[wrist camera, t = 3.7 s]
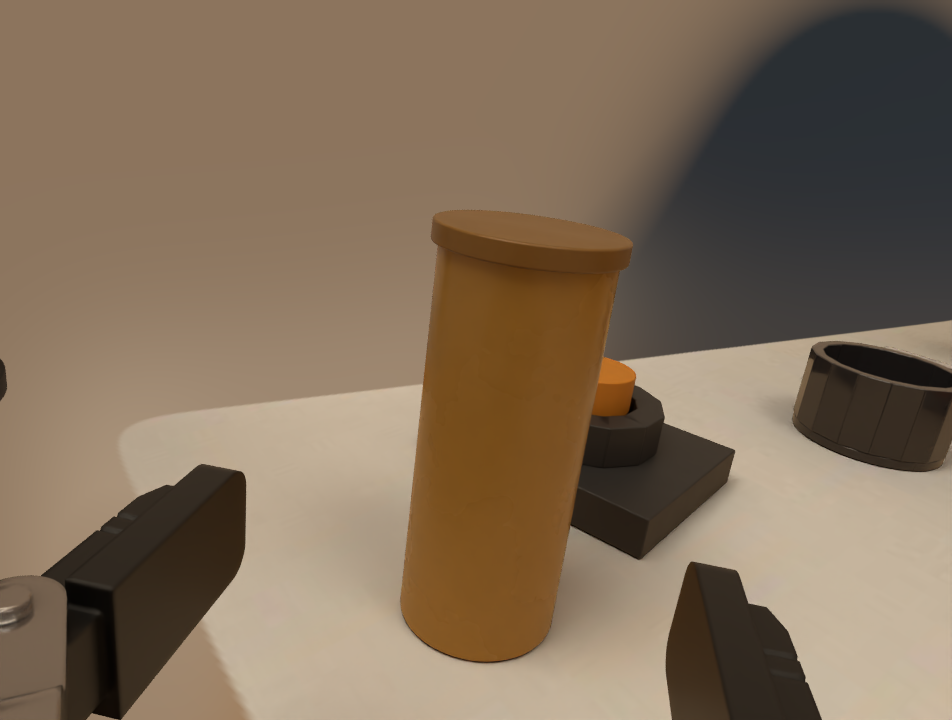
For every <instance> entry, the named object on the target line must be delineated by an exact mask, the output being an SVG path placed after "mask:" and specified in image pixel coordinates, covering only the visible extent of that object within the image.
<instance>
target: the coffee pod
mask: <svg viewBox="0 0 952 720" xmlns="http://www.w3.org/2000/svg"><path fill="white" fill-rule="evenodd" d="M431 239H432V241H433V242H434V243H435V244H437V245H438V248H437V258H436V267H435V278H434V287H433V296H432V306H431V315H430V324H429V334H428V343H427V353H426V363H425V372H424V382H423V391H422V400H421V410H420V419H419V429H418V438H417V448H416V457H415V466H414V476H413V485H412V495H411V504H410V514H409V523H408V533H407V542H406V552H405V561H404V571H403V580H402V590H401V600H400V603H401V610H402V613H403V616H404V618H405V620H406V622H407V624H408V626H409V627H410V628H411V630H412V631H413V632H414V633H415V634H416V635H417V636H418V637H419V638H420V639H421V640H423V641H424V642H425V643H427V644H428V645H430V646H431V647H433V648H435V649H437V650H439V651H441V652H443V653H445V654H448V655H451V656H454V657H457V658H461V659H466V660H471V661H482V662H491V661H502V660H508V659H512V658H516V657H518V656H521V655H523V654H525V653H527V652H529V651H531V650H532V649H534V648H535V647H536V646H538V645H539V644H540V643H541V642H542V640H543V639H544V638H545V637H546V635H547V634H548V632H549V629H550V627H551V622H552V617H553V612H554V606H555V601H556V596H557V591H558V586H559V581H560V576H561V570H562V565H563V560H564V555H565V550H566V545H567V540H568V534H569V529H570V524H571V519H572V514H573V509H574V504H575V498H576V493H577V488H578V483H579V478H580V473H581V468H582V462H583V457H584V452H585V447H586V442H587V437H588V432H589V426H590V421H591V416H592V411H593V406H594V401H595V396H596V390H597V385H598V380H599V375H600V370H601V365H602V360H603V354H604V349H605V344H606V339H607V334H608V329H609V324H610V318H611V313H612V308H613V303H614V298H615V293H616V288H617V282H618V277H619V272H620V271H621V270H624V269H626V268H627V267H628V266H629V263H630V258H631V253H632V248H633V244H632V242H631V241H630V240H629V239H627V238H626V237H624V236H622V235H620V234H617V233H614V232H611V231H608V230H605V229H602V228H598V227H594V226H590V225H586V224H581V223H576V222H571V221H566V220H560V219H555V218H549V217H542V216H535V215H527V214H520V213H511V212H499V211H483V210H452V211H445V212H440V213H437V214H435V215H434V217H433V222H432V231H431Z"/></svg>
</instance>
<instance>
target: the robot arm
mask: <svg viewBox="0 0 952 720" xmlns="http://www.w3.org/2000/svg"><path fill="white" fill-rule="evenodd" d="M245 529H246V479H245V475H244V474H243V473H242V472H241V471H236V470H231V469H226V468H221V467H216V466H211V465H205V464H201V465H198V466H197V467H196V468H195V469H193V470H192V471H191V472H190V473H189V474H187V475H186V476H185V477H184V478H183V479H182V480H180V481H179V482H178V483H177V484H176V485H175V486H170V485H165V486H162V487H160V488H158V489H155V490H153V491H151V492H148V493H146V494H144V495H141V496H139V497H137V498H136V499H135V500H134V501H132V502H131V503H130V504H129V505H128V506H126V507H125V508H124V509H123V510H121V511H120V512H119V513H118V516H117V517H113V518H111V519H110V520H109V521H108V522H107V523H105V524H104V525H103V526H102V527H101V530H100V531H96V532H94V533H93V534H92V535H91V536H89V537H88V538H87V539H86V540H84V541H83V542H82V543H81V544H79V545H78V546H77V547H76V548H74V549H73V550H72V551H71V552H69V553H68V554H67V555H66V556H65V557H63V558H62V559H61V560H60V561H59V562H57V563H56V564H55V565H53V567H51V568H50V569H48V570H47V571H46V572H45V573H44V574H42V575H41V576H32V575H31V576H17V577H11V578H6V579H2V580H0V720H86V719H87V718H88V717H89V716H90V714H91V713H93V714H98V715H102V716H106V717H110V718H114V719H118V720H121V719H122V718H123V716H124V715H125V714H126V713H127V711H128V710H129V709H130V708H131V706H132V705H133V704H134V702H135V701H136V700H137V699H138V698H139V696H140V695H141V694H142V693H143V691H144V690H145V689H146V688H147V686H148V685H149V684H150V683H151V681H152V680H153V679H154V677H155V676H156V675H157V674H158V673H159V671H160V670H161V669H162V668H163V666H164V665H165V664H166V663H167V661H168V660H169V659H170V658H171V656H172V655H173V654H174V653H175V651H176V650H177V649H178V648H179V646H180V645H181V644H182V643H183V641H184V640H185V639H186V638H187V636H188V635H189V634H190V633H191V631H192V630H193V629H194V627H195V626H196V625H197V624H198V623H199V621H200V620H201V619H202V618H203V616H204V615H205V614H206V613H207V611H208V610H209V609H210V608H211V606H212V605H213V604H214V603H215V601H216V600H217V599H218V598H219V596H220V595H221V594H222V593H223V591H224V590H225V589H226V588H227V586H228V585H229V584H230V583H231V581H232V580H233V579H234V577H235V576H236V574H237V572H238V570H239V567H240V565H241V562H242V559H243V555H244V550H245ZM797 657H798V656H797V654H796V651H795V648H794V646H793V643H792V641H791V638H790V635H789V633H788V631H787V630H786V629H785V628H784V626H783V625H782V624H781V623H780V622H779V621H778V620H777V618H776V617H775V616H774V615H773V614H772V613H771V612H770V611H769V609H768V608H767V607H763V606H758V605H753V604H748V601H747V598H746V595H745V592H744V589H743V586H742V582H741V579H740V576H739V574H738V572H737V571H736V570H732V569H727V568H722V567H717V566H712V565H707V564H702V563H697V562H690V564H689V565H688V567H687V570H686V573H685V576H684V580H683V584H682V588H681V591H680V595H679V599H678V603H677V606H676V610H675V614H674V618H673V621H672V625H671V629H670V633H669V637H668V642H667V650H666V678H667V685H668V693H669V700H670V708H671V716H672V720H822V719H821V716H820V714H819V711H818V708H817V706H816V703H815V701H814V698H813V695H812V693H811V690H810V688H809V685H808V683H806V682H805V678H806V677H805V675H804V672H803V669H802V667H801V664H800V661H797Z"/></svg>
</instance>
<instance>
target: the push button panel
mask: <svg viewBox="0 0 952 720" xmlns="http://www.w3.org/2000/svg"><path fill="white" fill-rule="evenodd" d="M664 418H665V417H664V413H663V408H662V404H661V402H660V401H659V400H658V399H656V398H655V397H653V396H652V395H651V394H649V393H648V392H646V391H645V390H643V389H642V388H640V387H638V386H635V385H634V389H633V394H632V399H631V403H630V408H629V412H628V414H627V415H624V416H597V415H592V416H591V421H590V426H589V432H588V437H587V442H586V447H585V452H584V457H583V462H582V468H581V473H580V478H579V483H578V488H577V493H576V498H575V504H574V509H573V514H572V519H571V524H572V525H574V526H576V527H578V528H580V529H582V530H583V531H585V532H587V533H589V534H591V535H593V536H595V537H597V538H599V539H601V540H603V541H605V542H607V543H609V544H611V545H613V546H615V547H617V548H619V549H621V550H623V551H625V552H627V553H628V554H630V555H632V556H634V557H636V558H638V559H641V558H642V557H643V556H644V555H645V554H646V553H647V552H648V551H650V550H651V549H652V548H653V547H654V546H655V545H656V544H657V543H659V542H660V541H661V540H662V539H663V538H664V537H665V536H666V535H668V534H669V533H670V532H671V531H672V530H673V529H674V528H675V527H677V526H678V525H679V524H680V523H681V522H682V521H683V520H684V519H686V518H687V517H688V516H689V515H690V514H691V513H692V512H693V511H695V510H696V509H697V508H698V507H699V506H700V505H701V504H702V503H704V502H705V501H706V500H707V499H708V498H709V497H710V496H711V495H713V494H714V493H715V492H716V491H717V490H718V489H719V488H720V487H722V486H723V485H724V484H725V483H726V482H727V479H728V476H729V472H730V469H731V465H732V461H733V458H734V454H735V450H733V449H731V448H728V447H725V446H723V445H720V444H717V443H715V442H712V441H710V440H707V439H704V438H702V437H699V436H696V435H694V434H691V433H689V432H686V431H683V430H681V429H678V428H675V427H673V426H670V425H668V424H665V423H664Z"/></svg>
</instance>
